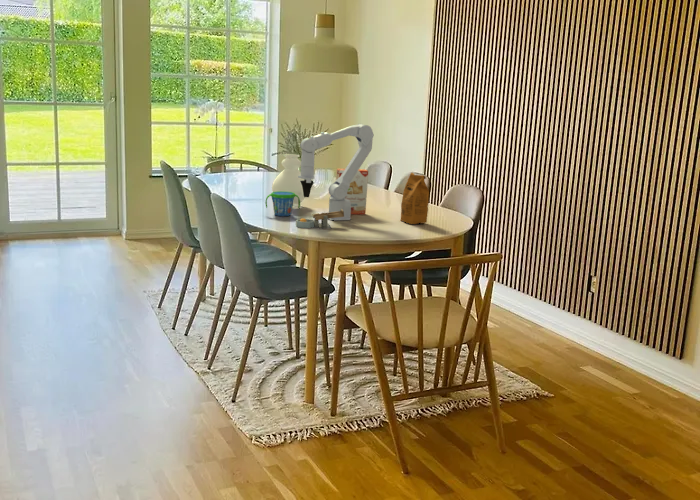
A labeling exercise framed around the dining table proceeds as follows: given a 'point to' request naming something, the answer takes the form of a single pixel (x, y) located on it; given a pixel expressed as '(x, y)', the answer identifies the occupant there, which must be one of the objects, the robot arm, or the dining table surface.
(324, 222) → the fulcrum
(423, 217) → the coffee package
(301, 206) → the decorative vase
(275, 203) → the snack cup
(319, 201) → the dining table surface
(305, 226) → the grey octagonal bowl
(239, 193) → the dining table surface
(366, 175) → the cracker box
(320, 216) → the lever
